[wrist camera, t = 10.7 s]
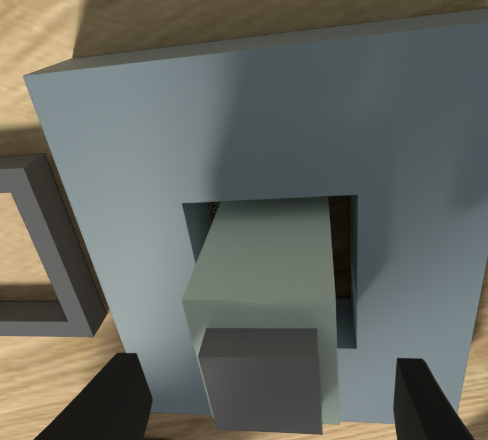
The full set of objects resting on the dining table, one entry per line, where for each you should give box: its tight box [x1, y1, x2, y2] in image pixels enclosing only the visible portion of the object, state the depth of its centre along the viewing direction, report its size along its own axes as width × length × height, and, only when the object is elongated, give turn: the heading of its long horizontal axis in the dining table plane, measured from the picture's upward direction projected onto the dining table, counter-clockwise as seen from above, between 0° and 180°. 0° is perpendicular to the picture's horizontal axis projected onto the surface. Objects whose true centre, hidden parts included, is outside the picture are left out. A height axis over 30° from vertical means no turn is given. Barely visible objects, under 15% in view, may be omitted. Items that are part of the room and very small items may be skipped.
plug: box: [182, 196, 340, 435], centre depth 15 cm, size 5×4×8 cm
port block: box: [23, 8, 488, 424], centre depth 17 cm, size 16×14×3 cm
